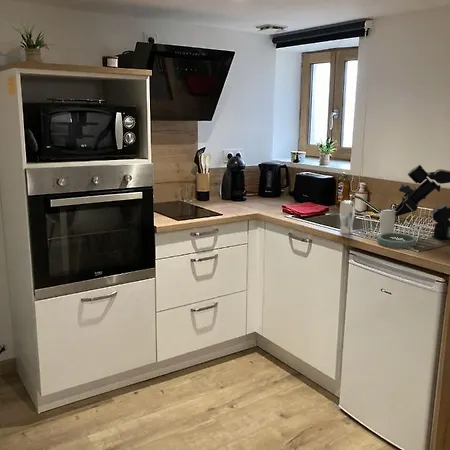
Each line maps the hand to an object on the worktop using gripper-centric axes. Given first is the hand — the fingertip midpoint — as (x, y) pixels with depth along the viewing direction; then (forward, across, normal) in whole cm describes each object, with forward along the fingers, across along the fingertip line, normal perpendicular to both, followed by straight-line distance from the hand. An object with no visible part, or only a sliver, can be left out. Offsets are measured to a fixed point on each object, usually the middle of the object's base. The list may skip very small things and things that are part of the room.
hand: (395, 213), depth 233 cm
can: (+10, 0, +5) cm, 11 cm away
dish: (+7, +14, +8) cm, 17 cm away
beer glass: (+23, 0, -8) cm, 24 cm away
